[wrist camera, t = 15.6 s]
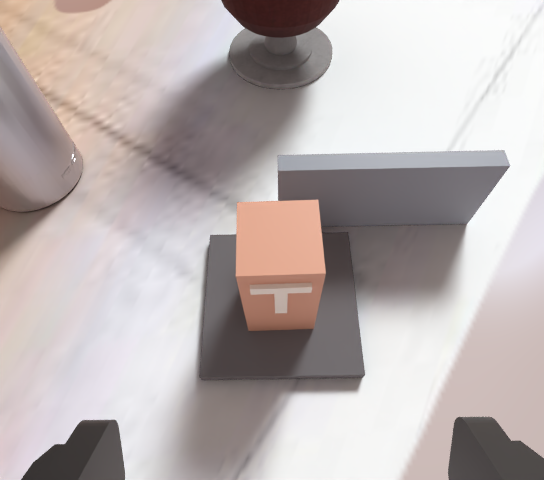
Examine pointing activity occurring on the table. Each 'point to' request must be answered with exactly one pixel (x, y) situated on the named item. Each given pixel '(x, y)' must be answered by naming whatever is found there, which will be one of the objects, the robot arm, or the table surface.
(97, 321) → the table surface
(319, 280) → the terracotta block
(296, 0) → the mate gourd
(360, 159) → the slate screen
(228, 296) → the charcoal mat
